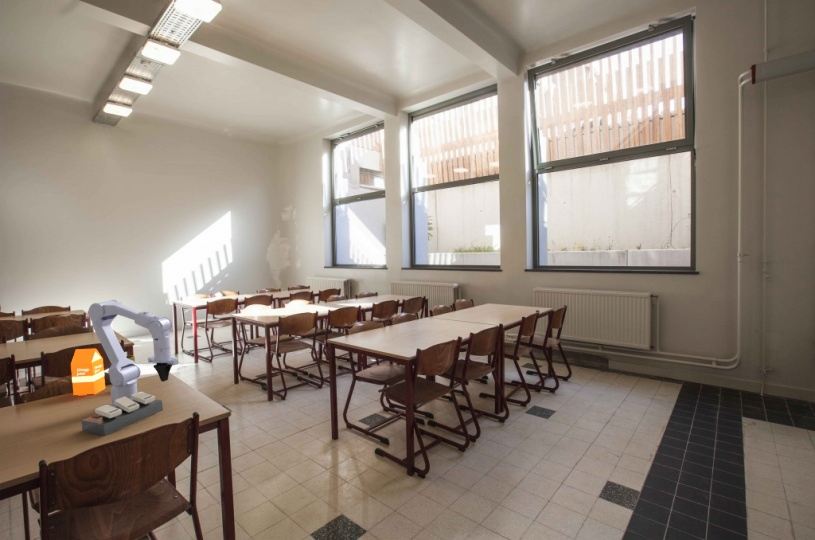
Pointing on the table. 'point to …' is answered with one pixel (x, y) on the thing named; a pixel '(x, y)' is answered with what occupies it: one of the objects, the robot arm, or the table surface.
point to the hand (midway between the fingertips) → (164, 380)
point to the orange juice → (87, 372)
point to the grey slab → (120, 418)
